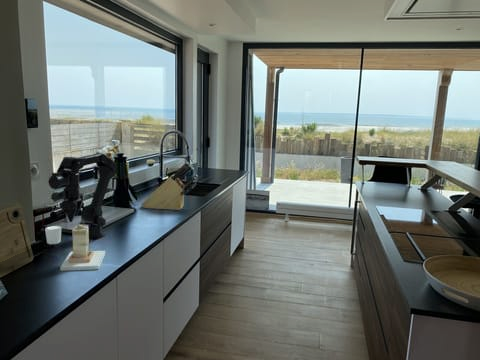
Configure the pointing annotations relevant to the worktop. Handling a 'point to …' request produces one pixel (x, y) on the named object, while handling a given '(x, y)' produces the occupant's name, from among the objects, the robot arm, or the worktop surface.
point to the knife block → (171, 191)
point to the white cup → (53, 234)
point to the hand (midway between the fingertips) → (73, 218)
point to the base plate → (83, 261)
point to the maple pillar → (80, 242)
